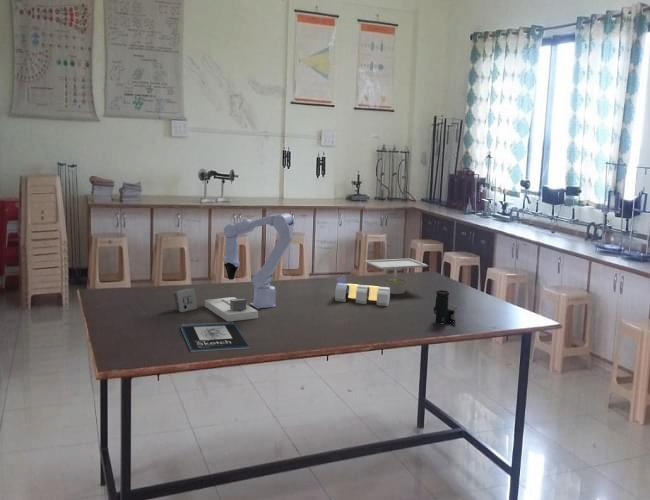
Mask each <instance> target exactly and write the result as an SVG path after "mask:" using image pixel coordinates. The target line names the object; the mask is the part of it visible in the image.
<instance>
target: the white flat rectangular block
mask: <svg viewBox="0 0 650 500" xmlns="http://www.w3.org/2000/svg"><path fill="white" fill-rule="evenodd" d="M233 299H238V298H236V297H235V296H233V297H232V296H231V297H230V296H229V297H223V298H221V297H220V298H213V299H205V300H204V307H205V308H206V309H208V310H209V311H211V312H212V313H214V314H215V315H217V316H218V317H220V318H221V319H223V320H225V321H226V322H227V323H228V322H229V323H230V322H235V321H244V320H245V321H246V320H255V319H259V310H257V309H255V307H253V306H251V305H248V304H247V303H246V309H244V310H235V311H233V310H231V309H230V300H233Z"/></svg>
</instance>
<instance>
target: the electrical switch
mask: <svg viewBox="0 0 650 500" xmlns="http://www.w3.org/2000/svg"><path fill="white" fill-rule="evenodd" d="M173 296H174V303H175V309H176V311H177V312H180V313H185V312H189V311H193V310H197V309H198V304H197V298H196V297H197V296H196V291H195V288H194V287H191V288H186V289H181V290H177V291H176V292H174V293H173Z"/></svg>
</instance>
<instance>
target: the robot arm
mask: <svg viewBox="0 0 650 500" xmlns="http://www.w3.org/2000/svg"><path fill="white" fill-rule="evenodd" d="M266 225H269V226H270V227H273V228H274V229H275V230H276V232H277V233H278V235H279V239H278V240H277V242H276V243H275V245H274V247H273V249H272V250H271V252H270V254H269V255H268V258H267V259H266V261H265V263H264V264H263V266H262V267H261V268H259V270H258V271H257V273H256V274H254V275H253V276H252V278H251V283H252V285H253V302H249V304H250V306H251V307H253V308H256V309H264V308H274V307H276V306H277V305H276V294H277V292H276V291H277V290H276V287H275V286H274V285H271V283H272V281H273V276H274V274H275V269H276V267H277V266H278V264H279V262H280V261H281V259H282V258H283V256H284V254H285V252H286V250H287V248H288V247H290V246H289V245H290V244H291V242H292V241H293V238H294V225H295V221H294V218H293V215H291V213H289V212H284V213H276V214H271V215H267V216H264V217H259V218H257V219H255V220H254V219H253V220H251V219H249V218H248V219H247V218H242V220H241V221H234V222H233V223H230V224H227V225H225V226H224V227H223V234H224V235H225V249H224V250H225V252H224V253H225V255H224V256H223V257H222V262H224V264H223V266H224V268H225V270H226V275H227V279H228V280H235V277H236V272H237V270H238V268H240V267H241V262H240V261H239V236H240V235H243V234H247V233H250V232H253V231H254V230H255V228H257V227H263V226H266Z"/></svg>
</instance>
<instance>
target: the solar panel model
mask: <svg viewBox="0 0 650 500" xmlns="http://www.w3.org/2000/svg"><path fill="white" fill-rule="evenodd" d="M363 262H364V263H366V264H368V265H371V267H372V266H373V267H375V268H378V269H380V270H390V269H391V270H392V269H393V278H387V279H385V280H384V287H389V288H390V295H391V294H393V295H400V294H401V295H402V294H404V293H405V292H406V281H405V280H404V279H400V278H399V279H398V278H397V273H398V269H411V268H426V267H427V268H428V267H429V265H428V264H426V263H423V262H421V261H419V260H415V259H413V258H408V257H407V258H393V259H392V258H389V259H387V258H386V259H366V260H363Z"/></svg>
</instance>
